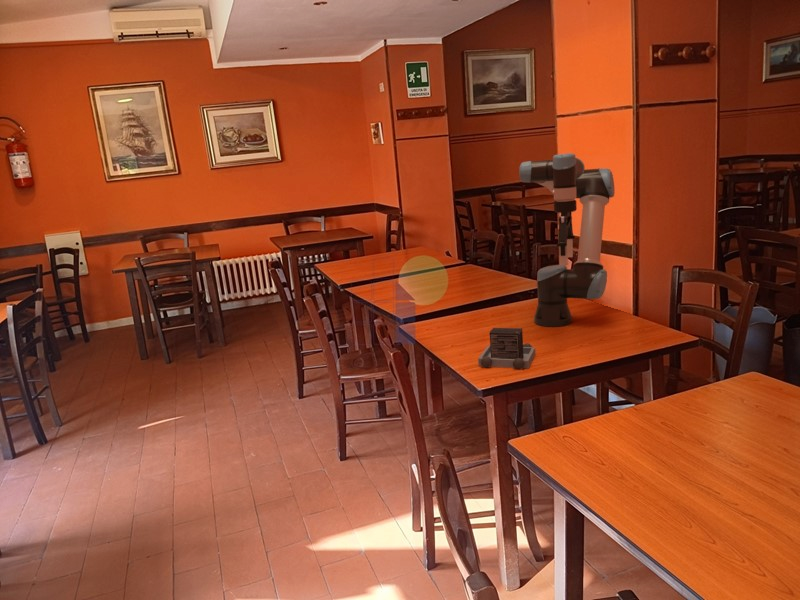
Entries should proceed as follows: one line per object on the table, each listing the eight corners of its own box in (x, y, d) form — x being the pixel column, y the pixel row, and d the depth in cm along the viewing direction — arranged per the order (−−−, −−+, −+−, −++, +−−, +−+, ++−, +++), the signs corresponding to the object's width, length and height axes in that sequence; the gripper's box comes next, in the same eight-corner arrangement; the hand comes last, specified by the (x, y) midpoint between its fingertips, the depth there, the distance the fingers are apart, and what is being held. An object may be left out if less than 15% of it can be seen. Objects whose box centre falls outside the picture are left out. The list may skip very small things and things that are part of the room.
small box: (524, 356, 210) (523, 327, 208) (520, 362, 204) (519, 333, 202) (494, 354, 214) (493, 326, 212) (490, 361, 208) (488, 332, 206)
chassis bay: (489, 351, 220) (488, 341, 219) (535, 353, 213) (535, 343, 213) (477, 367, 205) (476, 357, 204) (527, 370, 198) (527, 359, 198)
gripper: (559, 196, 218) (560, 254, 223) (547, 204, 196) (549, 268, 201) (580, 195, 215) (581, 253, 220) (571, 203, 193) (572, 268, 198)
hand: (566, 260), depth 211 cm, fingers open, 13 cm apart
